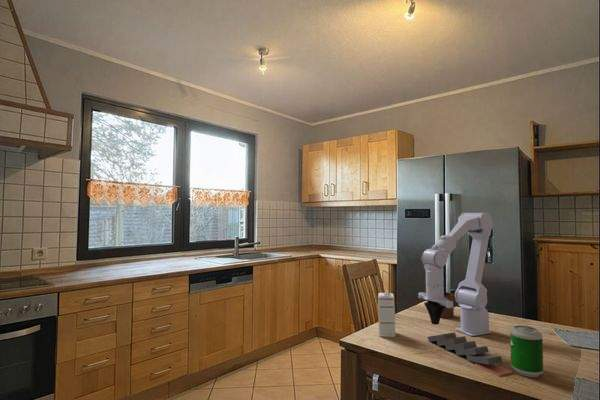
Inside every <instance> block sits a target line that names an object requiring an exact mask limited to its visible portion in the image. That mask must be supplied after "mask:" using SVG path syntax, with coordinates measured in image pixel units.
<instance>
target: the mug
mask: <svg viewBox="0 0 600 400" xmlns="http://www.w3.org/2000/svg"><path fill="white" fill-rule="evenodd" d="M444 297H445V298H446V299H448V300H450V301H452V302H453V308H447V307H445V308H444V310H443V312H442V314H441V318H440V319H453V318H454V315H455V312H454V311H455V310H454V309H455V308H456V307H460V306H459V305H458V303H457V302H456V301H454V300H455V294H453V293H451V292H446V291H444Z"/></svg>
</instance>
